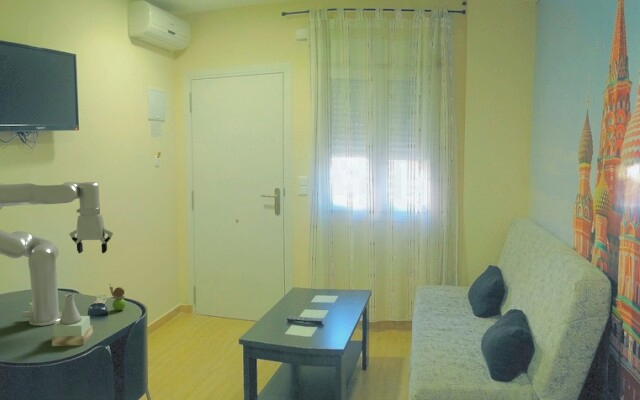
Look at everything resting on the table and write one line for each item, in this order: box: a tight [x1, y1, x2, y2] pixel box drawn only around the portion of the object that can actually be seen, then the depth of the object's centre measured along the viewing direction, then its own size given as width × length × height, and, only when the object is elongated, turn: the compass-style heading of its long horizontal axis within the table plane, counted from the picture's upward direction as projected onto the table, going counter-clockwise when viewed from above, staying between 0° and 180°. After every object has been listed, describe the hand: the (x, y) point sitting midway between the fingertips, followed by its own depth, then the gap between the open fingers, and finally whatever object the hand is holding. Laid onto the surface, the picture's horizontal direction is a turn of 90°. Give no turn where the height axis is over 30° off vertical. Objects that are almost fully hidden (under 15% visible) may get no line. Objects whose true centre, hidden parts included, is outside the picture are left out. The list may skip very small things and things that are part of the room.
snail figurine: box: [108, 283, 126, 312], centre depth 228 cm, size 5×6×12 cm
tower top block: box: [52, 315, 91, 337], centre depth 196 cm, size 10×10×4 cm
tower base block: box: [51, 324, 94, 347], centre depth 197 cm, size 11×11×4 cm
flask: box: [60, 293, 82, 324], centre depth 195 cm, size 7×7×10 cm
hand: (92, 252), depth 218 cm, fingers open, 9 cm apart
